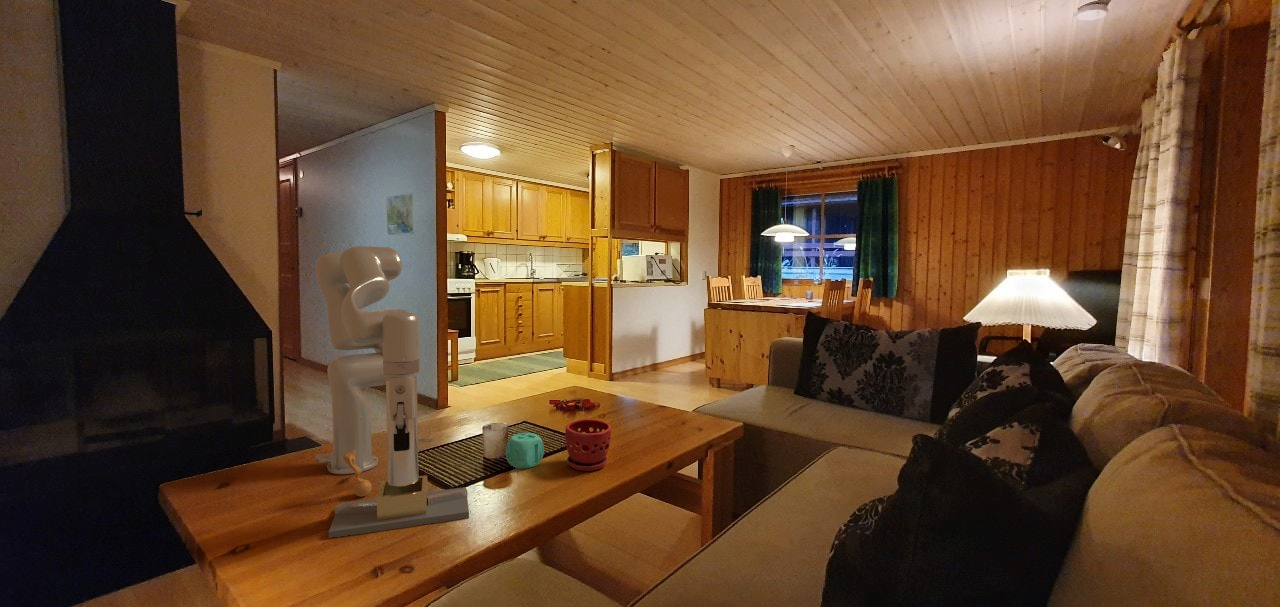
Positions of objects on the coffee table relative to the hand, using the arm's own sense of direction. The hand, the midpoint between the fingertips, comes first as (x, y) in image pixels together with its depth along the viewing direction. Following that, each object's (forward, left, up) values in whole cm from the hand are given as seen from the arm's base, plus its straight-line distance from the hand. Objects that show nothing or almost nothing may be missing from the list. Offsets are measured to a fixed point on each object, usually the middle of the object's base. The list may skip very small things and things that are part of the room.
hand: (402, 444), depth 121 cm
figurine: (-11, +13, -17) cm, 24 cm away
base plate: (0, 0, -16) cm, 16 cm away
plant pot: (+48, +15, -17) cm, 53 cm away
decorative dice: (+31, +22, -17) cm, 41 cm away
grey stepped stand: (0, 0, -15) cm, 15 cm away
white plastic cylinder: (0, 0, -9) cm, 9 cm away
